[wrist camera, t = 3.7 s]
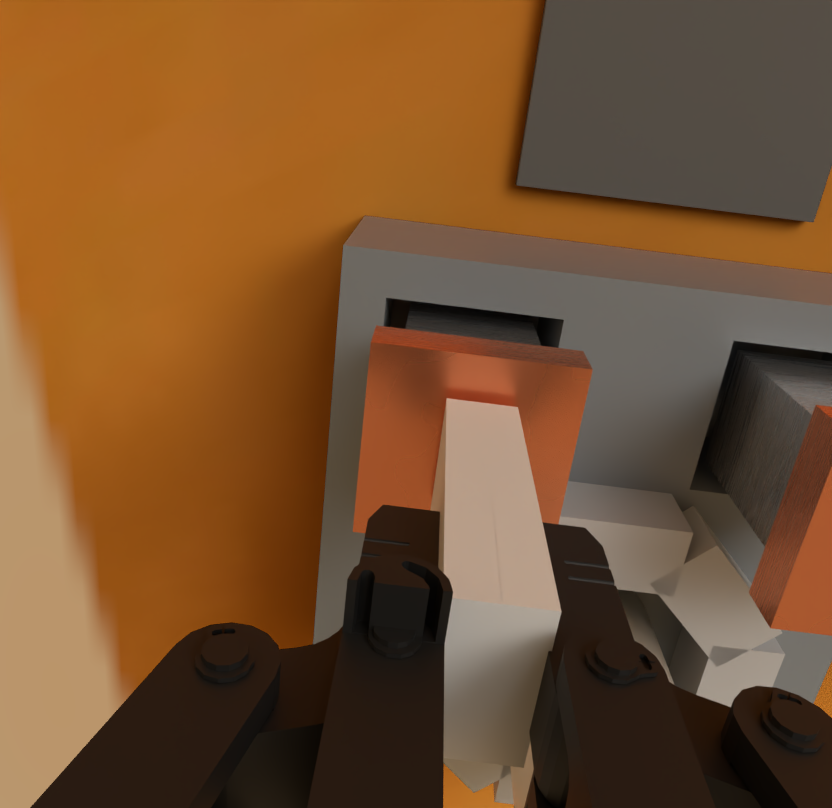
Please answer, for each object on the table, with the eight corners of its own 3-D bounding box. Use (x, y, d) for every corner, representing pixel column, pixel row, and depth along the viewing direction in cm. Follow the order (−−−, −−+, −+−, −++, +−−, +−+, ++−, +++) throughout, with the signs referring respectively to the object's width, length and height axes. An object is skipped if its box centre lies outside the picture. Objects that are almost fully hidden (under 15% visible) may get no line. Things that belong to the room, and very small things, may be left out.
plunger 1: (393, 271, 21) (370, 342, 15) (551, 290, 21) (592, 369, 15) (379, 415, 23) (352, 531, 17) (524, 433, 23) (551, 556, 17)
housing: (365, 215, 23) (331, 261, 16) (871, 278, 23) (1035, 349, 16) (328, 643, 29) (293, 795, 23) (721, 691, 30) (796, 857, 23)
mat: (574, -177, 19) (576, -183, 18) (919, -133, 19) (928, -137, 19) (515, 183, 22) (516, 185, 22) (807, 220, 22) (813, 222, 22)
